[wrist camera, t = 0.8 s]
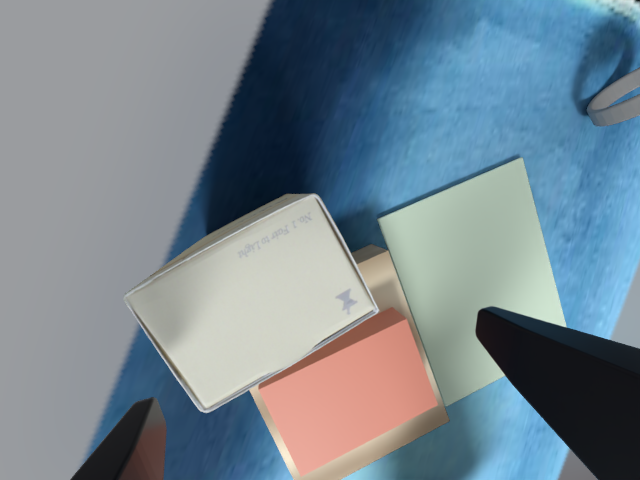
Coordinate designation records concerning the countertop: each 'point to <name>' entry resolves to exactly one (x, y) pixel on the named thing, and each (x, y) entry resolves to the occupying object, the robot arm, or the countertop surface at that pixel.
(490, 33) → the countertop surface
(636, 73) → the wristwatch
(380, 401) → the salmon pink brick
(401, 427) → the board
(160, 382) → the countertop surface
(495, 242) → the mat
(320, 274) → the skincare box
